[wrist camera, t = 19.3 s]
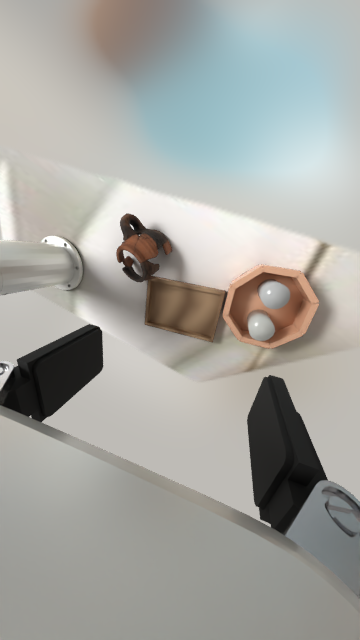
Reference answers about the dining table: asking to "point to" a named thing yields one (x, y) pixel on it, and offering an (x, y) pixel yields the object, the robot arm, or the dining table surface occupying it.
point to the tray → (183, 308)
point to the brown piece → (140, 247)
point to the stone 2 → (260, 325)
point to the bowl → (285, 319)
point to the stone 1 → (273, 294)
